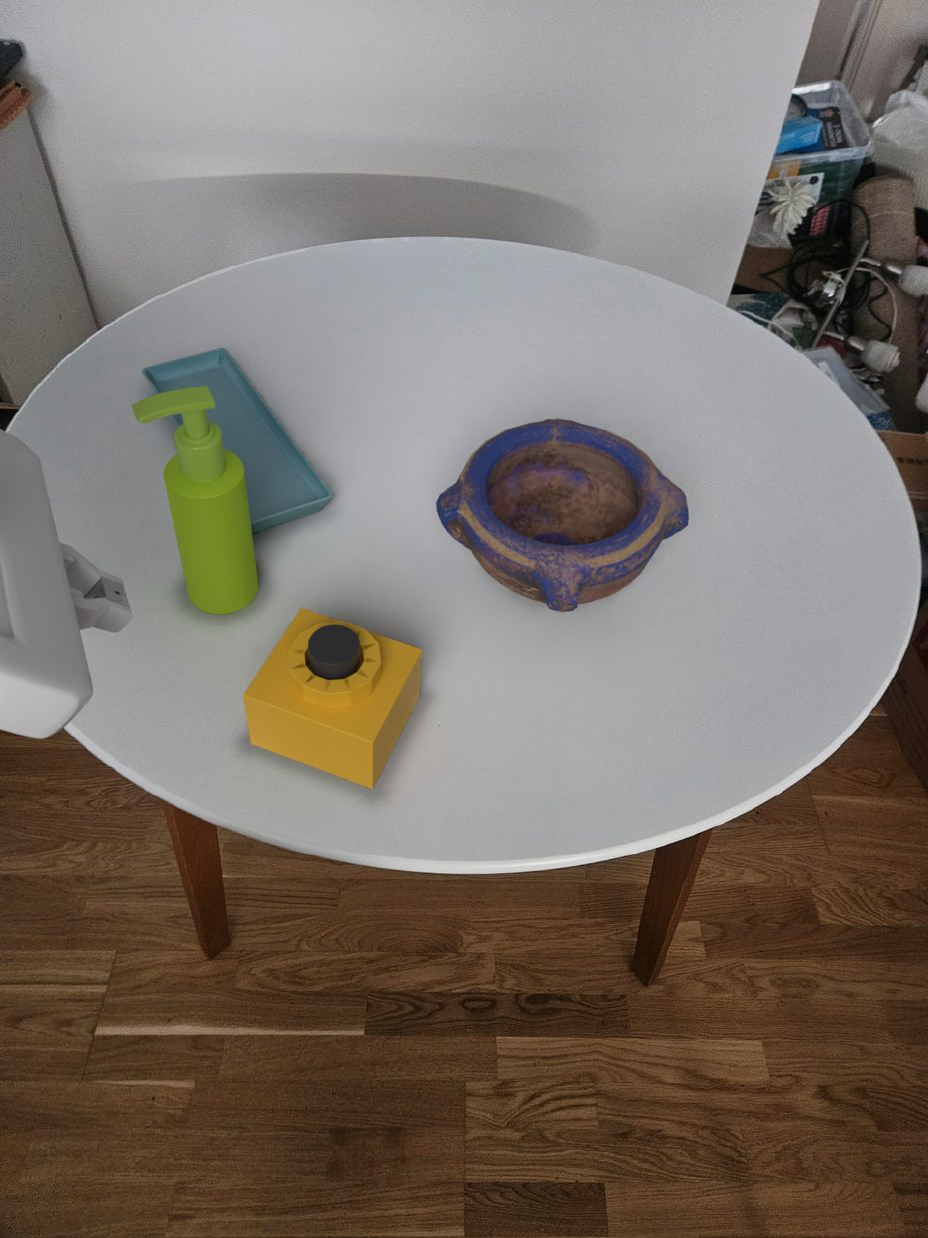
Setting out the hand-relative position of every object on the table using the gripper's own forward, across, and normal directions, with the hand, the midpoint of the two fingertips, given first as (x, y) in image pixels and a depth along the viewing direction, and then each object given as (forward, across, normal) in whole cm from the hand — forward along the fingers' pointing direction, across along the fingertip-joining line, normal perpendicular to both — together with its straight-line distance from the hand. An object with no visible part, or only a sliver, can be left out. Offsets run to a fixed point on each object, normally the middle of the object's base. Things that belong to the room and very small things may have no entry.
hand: (122, 607), depth 57 cm
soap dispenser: (+18, +16, +8) cm, 26 cm away
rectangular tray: (+23, +34, +4) cm, 41 cm away
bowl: (+39, +10, -12) cm, 42 cm away
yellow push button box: (+22, 0, +4) cm, 22 cm away
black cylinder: (+17, 0, -1) cm, 17 cm away
